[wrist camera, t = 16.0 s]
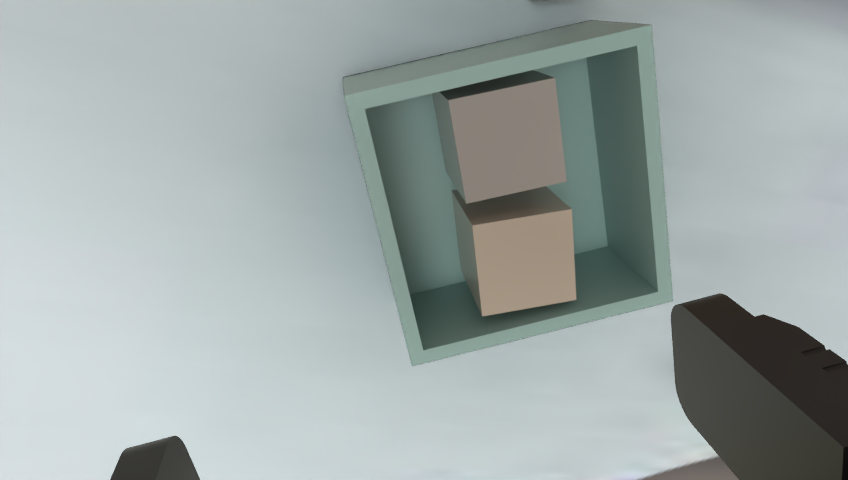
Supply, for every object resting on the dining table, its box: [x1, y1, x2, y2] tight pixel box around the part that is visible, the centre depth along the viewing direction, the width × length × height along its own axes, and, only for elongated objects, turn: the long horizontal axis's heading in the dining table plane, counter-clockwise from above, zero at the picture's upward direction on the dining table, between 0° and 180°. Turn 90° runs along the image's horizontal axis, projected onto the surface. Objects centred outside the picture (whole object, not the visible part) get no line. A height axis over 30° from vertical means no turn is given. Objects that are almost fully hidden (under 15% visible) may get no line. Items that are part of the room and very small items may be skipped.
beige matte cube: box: [452, 186, 576, 316], centre depth 29 cm, size 4×4×5 cm
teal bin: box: [343, 20, 673, 366], centre depth 28 cm, size 11×11×6 cm
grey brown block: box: [432, 70, 567, 204], centre depth 27 cm, size 4×4×5 cm
